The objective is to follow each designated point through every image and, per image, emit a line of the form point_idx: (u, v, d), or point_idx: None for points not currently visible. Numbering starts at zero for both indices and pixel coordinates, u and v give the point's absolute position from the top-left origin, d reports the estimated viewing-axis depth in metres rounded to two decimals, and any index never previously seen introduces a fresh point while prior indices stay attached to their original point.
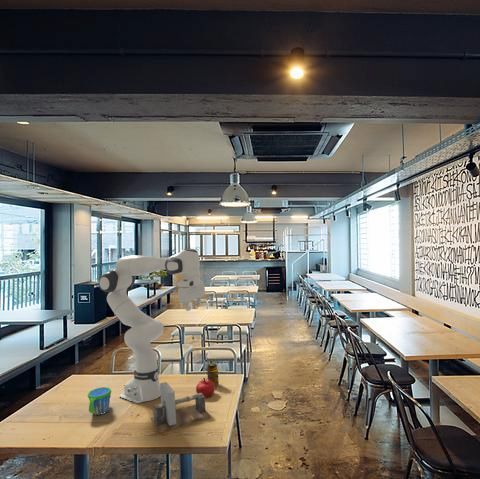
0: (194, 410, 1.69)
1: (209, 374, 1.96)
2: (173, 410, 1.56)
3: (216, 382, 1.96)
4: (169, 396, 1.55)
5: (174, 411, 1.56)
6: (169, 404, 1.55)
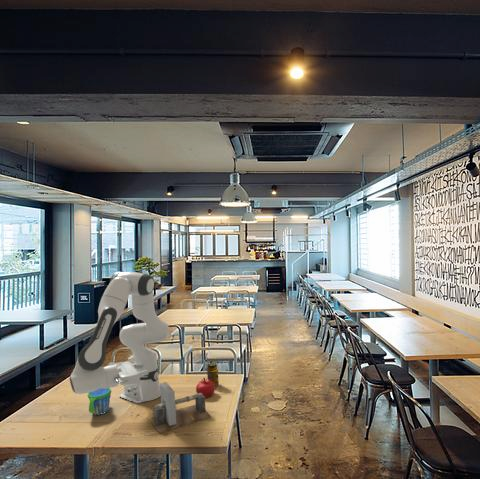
0: (194, 410, 1.69)
1: (209, 374, 1.96)
2: (173, 410, 1.56)
3: (216, 382, 1.96)
4: (169, 396, 1.55)
5: (174, 411, 1.56)
6: (169, 404, 1.55)
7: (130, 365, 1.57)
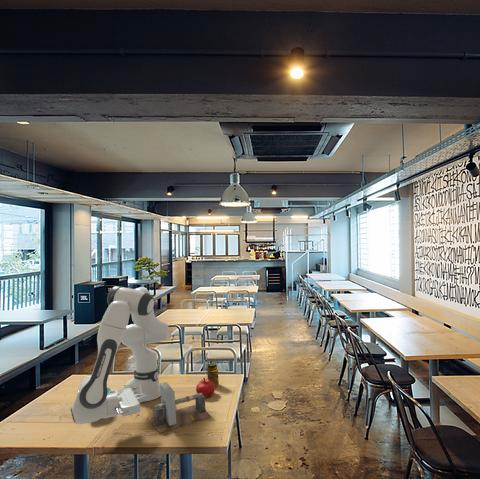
0: (194, 410, 1.69)
1: (209, 374, 1.96)
2: (173, 410, 1.56)
3: (216, 382, 1.96)
4: (169, 396, 1.55)
5: (174, 411, 1.56)
6: (169, 404, 1.55)
7: (131, 393, 1.57)
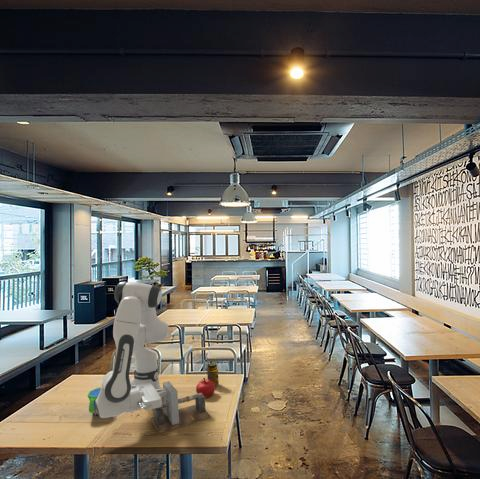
0: (194, 410, 1.69)
1: (209, 374, 1.96)
2: (176, 409, 1.56)
3: (216, 382, 1.96)
4: (172, 395, 1.56)
5: (177, 410, 1.56)
6: (172, 403, 1.56)
7: (152, 388, 1.61)
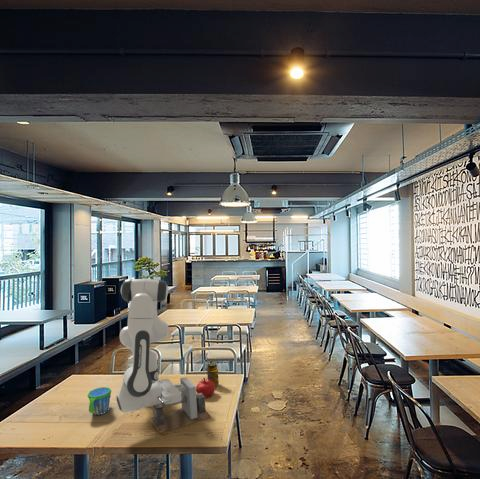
0: None
1: (209, 374, 1.96)
2: (194, 404, 1.60)
3: (216, 382, 1.96)
4: (190, 390, 1.59)
5: (195, 405, 1.60)
6: (190, 398, 1.59)
7: (170, 383, 1.65)
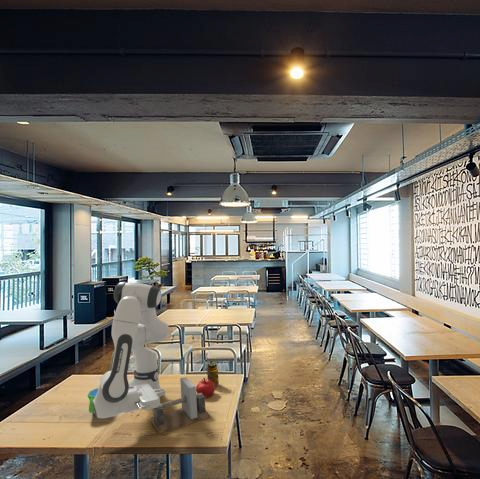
0: None
1: (209, 374, 1.96)
2: (194, 404, 1.60)
3: (216, 382, 1.96)
4: (190, 390, 1.59)
5: (195, 405, 1.60)
6: (190, 398, 1.59)
7: (150, 388, 1.60)
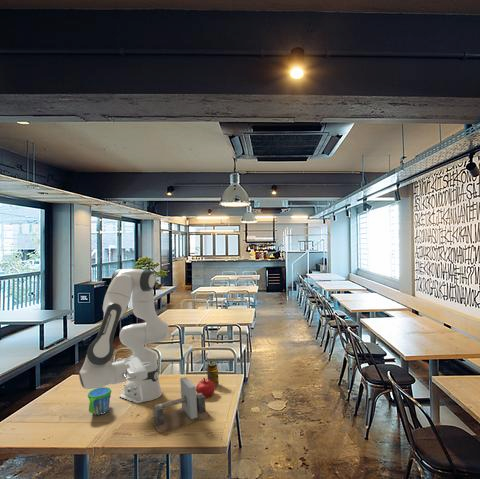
0: None
1: (209, 374, 1.96)
2: (194, 404, 1.60)
3: (216, 382, 1.96)
4: (190, 390, 1.59)
5: (195, 405, 1.60)
6: (190, 398, 1.59)
7: (138, 361, 1.58)
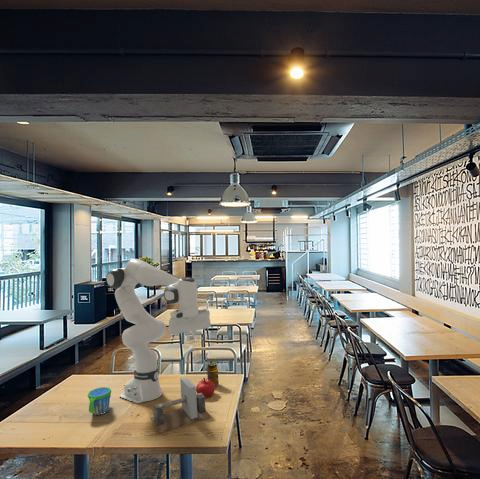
0: None
1: (209, 374, 1.96)
2: (194, 404, 1.60)
3: (216, 382, 1.96)
4: (190, 390, 1.59)
5: (195, 405, 1.60)
6: (190, 398, 1.59)
7: None
